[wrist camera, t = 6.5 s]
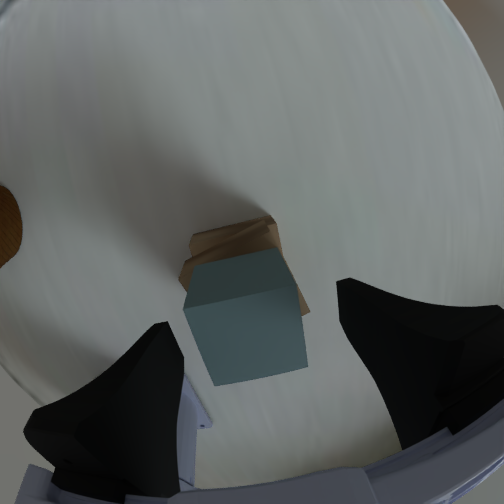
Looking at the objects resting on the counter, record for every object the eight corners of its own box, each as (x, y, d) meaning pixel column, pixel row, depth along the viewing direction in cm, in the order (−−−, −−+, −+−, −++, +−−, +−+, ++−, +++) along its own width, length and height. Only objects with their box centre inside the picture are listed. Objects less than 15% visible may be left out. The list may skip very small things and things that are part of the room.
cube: (216, 333, 15) (214, 386, 11) (194, 265, 13) (183, 309, 9) (289, 317, 15) (308, 366, 11) (277, 247, 13) (296, 284, 9)
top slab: (227, 325, 17) (228, 350, 15) (185, 260, 16) (178, 279, 13) (299, 290, 17) (310, 311, 15) (263, 219, 15) (270, 231, 13)
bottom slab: (214, 299, 19) (213, 319, 17) (193, 233, 18) (188, 244, 15) (283, 283, 19) (291, 300, 17) (269, 214, 18) (276, 223, 15)
